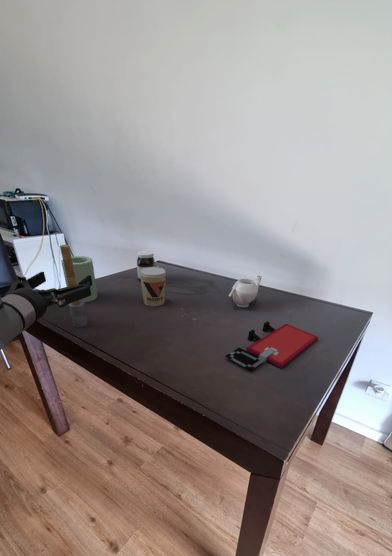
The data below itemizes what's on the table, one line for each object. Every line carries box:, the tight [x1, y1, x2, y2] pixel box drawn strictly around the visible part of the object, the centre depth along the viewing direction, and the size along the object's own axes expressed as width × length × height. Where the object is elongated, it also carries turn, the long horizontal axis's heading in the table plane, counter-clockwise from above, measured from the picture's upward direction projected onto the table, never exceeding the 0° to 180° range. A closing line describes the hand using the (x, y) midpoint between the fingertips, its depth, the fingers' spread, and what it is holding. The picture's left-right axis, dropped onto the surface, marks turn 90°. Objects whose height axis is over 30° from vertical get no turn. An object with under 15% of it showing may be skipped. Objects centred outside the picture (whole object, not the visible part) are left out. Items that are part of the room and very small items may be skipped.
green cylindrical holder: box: [60, 255, 99, 303], centre depth 104 cm, size 10×10×14 cm
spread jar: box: [136, 250, 161, 282], centre depth 124 cm, size 12×11×12 cm
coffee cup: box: [140, 266, 167, 307], centre depth 103 cm, size 9×9×12 cm
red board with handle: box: [225, 320, 319, 371], centre depth 82 cm, size 30×3×15 cm
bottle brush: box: [59, 244, 89, 328], centre depth 83 cm, size 4×4×24 cm
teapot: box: [228, 275, 262, 308], centre depth 106 cm, size 10×20×9 cm, turn 138°
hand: (67, 278), depth 80 cm, fingers open, 13 cm apart
